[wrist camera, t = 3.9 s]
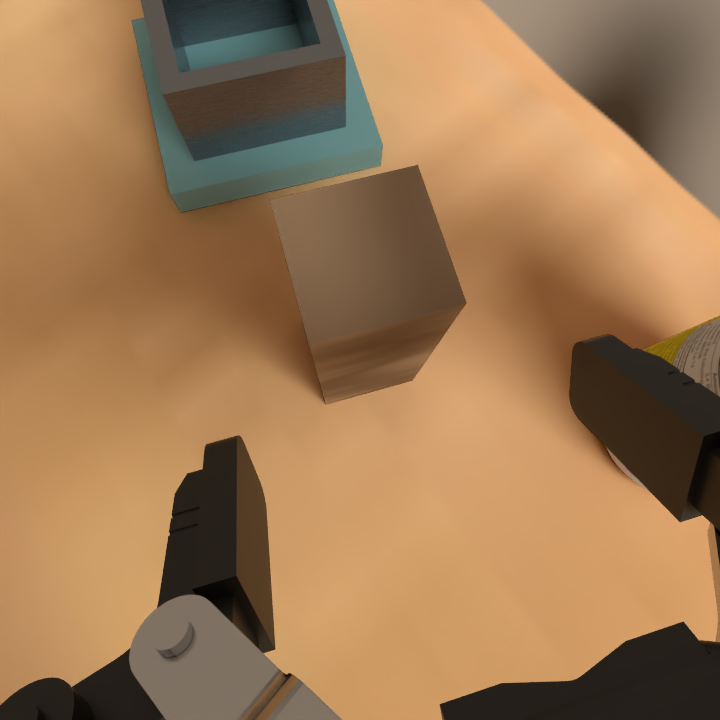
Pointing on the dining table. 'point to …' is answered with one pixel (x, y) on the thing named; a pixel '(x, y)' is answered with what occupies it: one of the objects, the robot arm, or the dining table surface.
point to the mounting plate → (265, 163)
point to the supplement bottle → (690, 361)
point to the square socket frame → (248, 73)
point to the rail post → (368, 279)
